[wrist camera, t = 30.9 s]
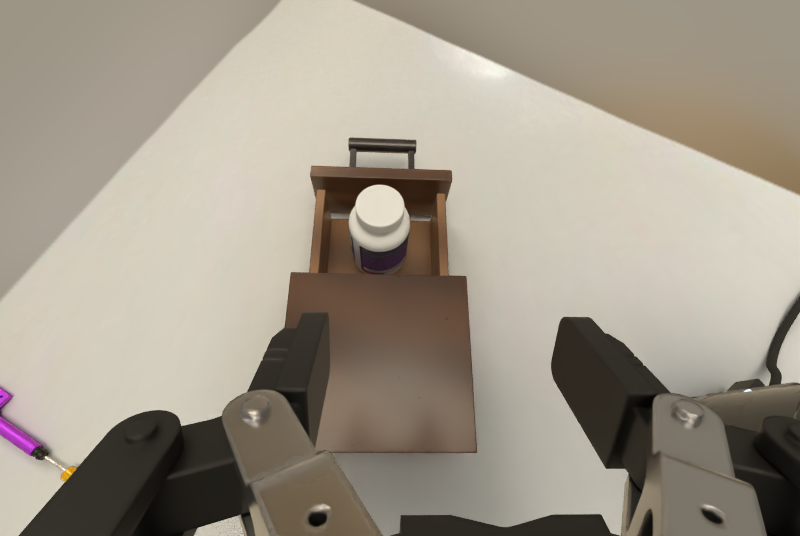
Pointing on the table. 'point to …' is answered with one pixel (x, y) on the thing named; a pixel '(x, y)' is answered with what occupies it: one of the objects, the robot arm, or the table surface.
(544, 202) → the table surface
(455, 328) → the cabinet
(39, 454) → the purple and yellow rod
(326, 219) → the drawer
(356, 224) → the pill bottle
